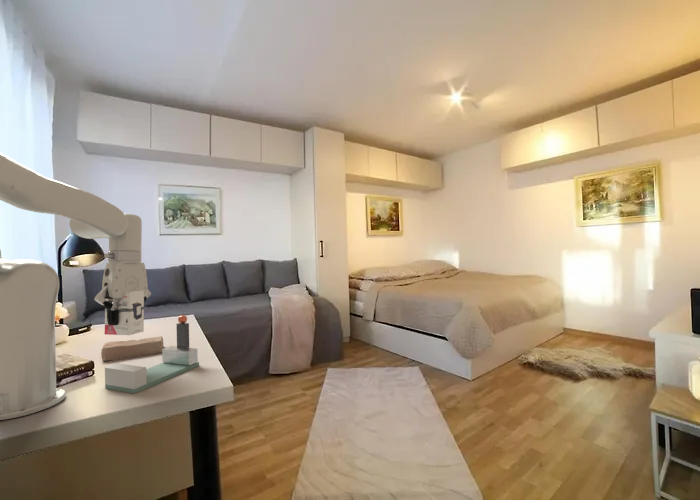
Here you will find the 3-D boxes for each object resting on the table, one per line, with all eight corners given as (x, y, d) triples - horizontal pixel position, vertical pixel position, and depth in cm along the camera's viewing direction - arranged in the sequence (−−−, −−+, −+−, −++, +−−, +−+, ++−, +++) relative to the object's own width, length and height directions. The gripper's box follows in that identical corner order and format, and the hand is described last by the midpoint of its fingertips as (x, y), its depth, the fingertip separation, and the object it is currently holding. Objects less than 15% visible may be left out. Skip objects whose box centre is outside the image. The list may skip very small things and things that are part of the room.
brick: (163, 347, 112) (163, 334, 112) (163, 353, 105) (163, 339, 105) (105, 356, 104) (104, 342, 104) (100, 363, 97) (100, 348, 97)
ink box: (103, 334, 87) (104, 291, 87) (119, 331, 92) (120, 290, 92) (129, 335, 85) (129, 291, 86) (144, 331, 90) (145, 290, 90)
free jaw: (189, 365, 88) (187, 317, 88) (162, 362, 91) (161, 316, 91) (200, 360, 92) (199, 315, 92) (174, 357, 95) (173, 313, 95)
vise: (134, 393, 73) (133, 371, 73) (105, 388, 77) (104, 367, 77) (199, 365, 91) (198, 348, 91) (173, 362, 95) (172, 345, 95)
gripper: (101, 257, 80) (100, 329, 79) (162, 258, 96) (162, 318, 95) (82, 258, 82) (80, 328, 82) (144, 258, 99) (144, 317, 98)
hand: (124, 322), depth 88 cm, fingers closed on ink box, 5 cm apart
